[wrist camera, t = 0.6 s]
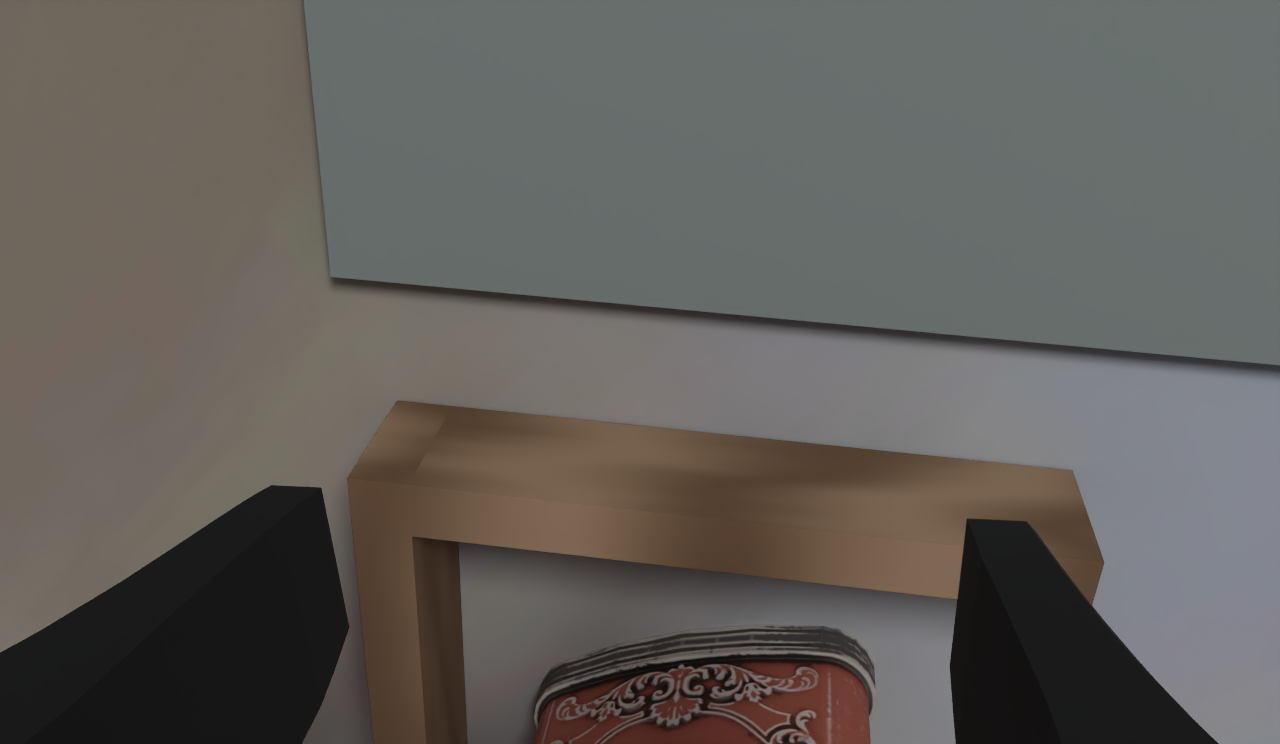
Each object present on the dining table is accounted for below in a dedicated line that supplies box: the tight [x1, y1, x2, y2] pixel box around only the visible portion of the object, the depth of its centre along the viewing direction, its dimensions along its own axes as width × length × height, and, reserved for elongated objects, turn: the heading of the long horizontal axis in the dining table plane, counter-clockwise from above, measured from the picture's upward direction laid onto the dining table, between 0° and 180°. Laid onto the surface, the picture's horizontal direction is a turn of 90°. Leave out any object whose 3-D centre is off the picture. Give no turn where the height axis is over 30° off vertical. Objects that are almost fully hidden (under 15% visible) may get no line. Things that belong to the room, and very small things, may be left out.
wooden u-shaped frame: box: [347, 401, 1104, 744], centre depth 26 cm, size 14×14×3 cm
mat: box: [303, 0, 1280, 365], centre depth 20 cm, size 20×9×1 cm, turn 88°
